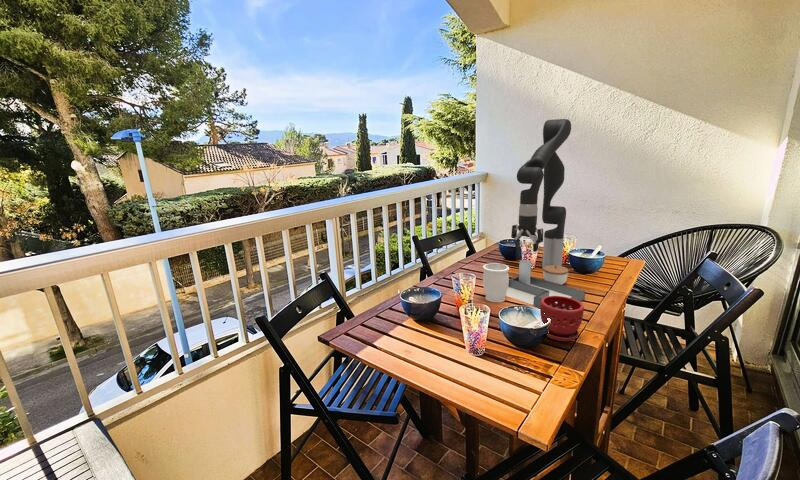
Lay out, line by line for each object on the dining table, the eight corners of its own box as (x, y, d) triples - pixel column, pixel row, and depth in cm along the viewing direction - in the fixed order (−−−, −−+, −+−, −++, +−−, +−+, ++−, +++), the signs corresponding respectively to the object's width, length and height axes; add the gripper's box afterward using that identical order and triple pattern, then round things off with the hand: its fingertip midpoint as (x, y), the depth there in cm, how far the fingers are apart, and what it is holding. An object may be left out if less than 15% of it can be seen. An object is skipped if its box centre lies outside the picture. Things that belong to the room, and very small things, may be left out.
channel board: (522, 282, 164) (522, 280, 163) (584, 300, 141) (584, 299, 141) (496, 293, 152) (496, 292, 152) (559, 316, 130) (559, 314, 129)
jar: (479, 302, 144) (480, 269, 140) (485, 293, 153) (486, 261, 149) (505, 306, 139) (506, 272, 135) (510, 297, 148) (511, 264, 144)
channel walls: (522, 280, 163) (522, 273, 163) (584, 299, 141) (585, 291, 140) (496, 292, 152) (496, 284, 151) (559, 314, 129) (560, 305, 128)
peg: (522, 283, 160) (523, 259, 157) (532, 286, 156) (533, 261, 153) (516, 286, 157) (517, 261, 154) (525, 289, 153) (527, 264, 150)
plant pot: (586, 345, 110) (589, 311, 107) (542, 343, 112) (545, 309, 109) (574, 326, 122) (577, 295, 119) (535, 323, 125) (537, 293, 122)
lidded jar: (562, 280, 164) (563, 261, 162) (570, 288, 154) (572, 269, 152) (539, 280, 165) (540, 261, 163) (546, 288, 155) (547, 269, 153)
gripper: (548, 214, 145) (545, 251, 149) (518, 211, 156) (517, 245, 160) (538, 216, 141) (536, 254, 145) (508, 213, 152) (507, 248, 156)
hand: (526, 249), depth 152 cm, fingers open, 8 cm apart
